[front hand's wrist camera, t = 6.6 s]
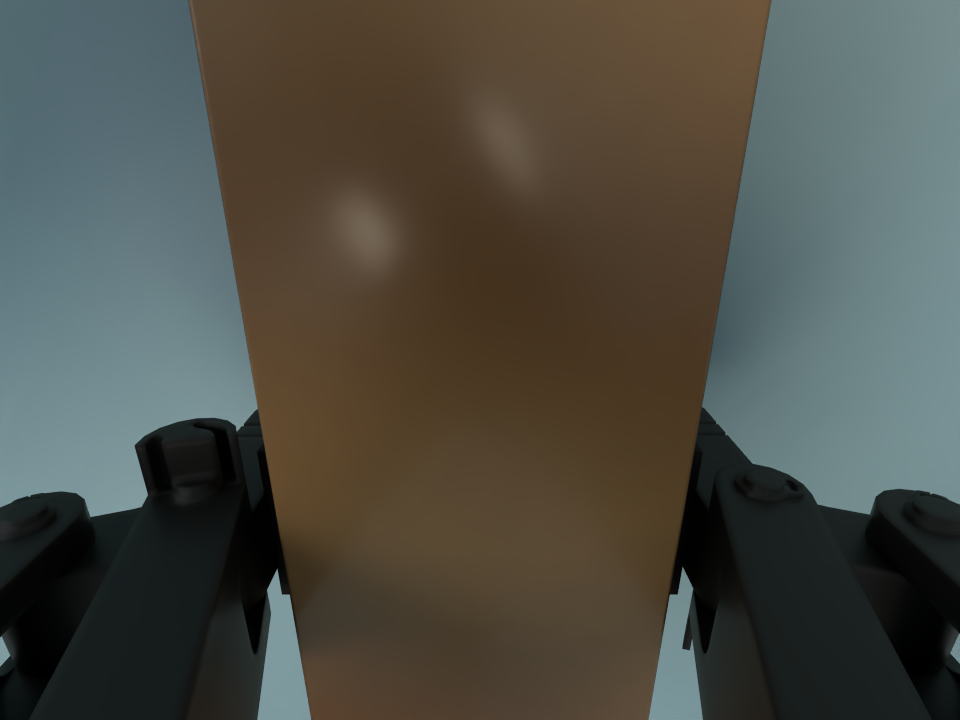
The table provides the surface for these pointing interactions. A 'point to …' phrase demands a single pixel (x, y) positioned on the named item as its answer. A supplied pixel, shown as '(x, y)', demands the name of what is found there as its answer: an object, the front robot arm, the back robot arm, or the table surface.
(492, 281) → the post
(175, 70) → the table surface
